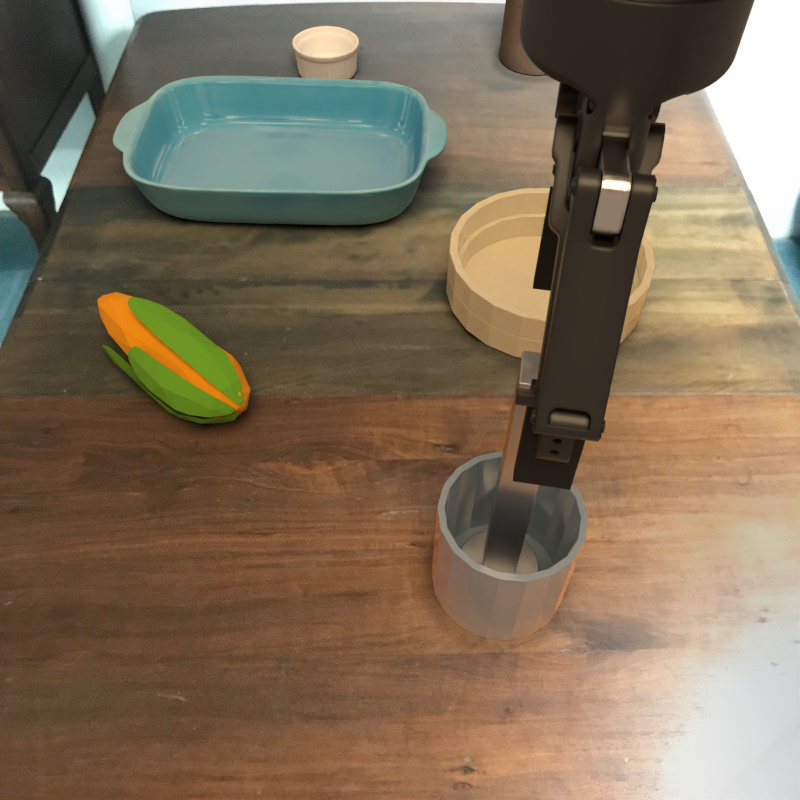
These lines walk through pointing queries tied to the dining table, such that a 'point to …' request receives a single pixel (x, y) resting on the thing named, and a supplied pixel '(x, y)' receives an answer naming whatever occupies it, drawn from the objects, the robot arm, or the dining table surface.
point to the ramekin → (326, 52)
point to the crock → (491, 590)
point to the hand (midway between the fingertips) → (549, 373)
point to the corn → (174, 360)
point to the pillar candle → (515, 41)
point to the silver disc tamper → (510, 498)
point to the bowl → (514, 272)
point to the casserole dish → (280, 149)
